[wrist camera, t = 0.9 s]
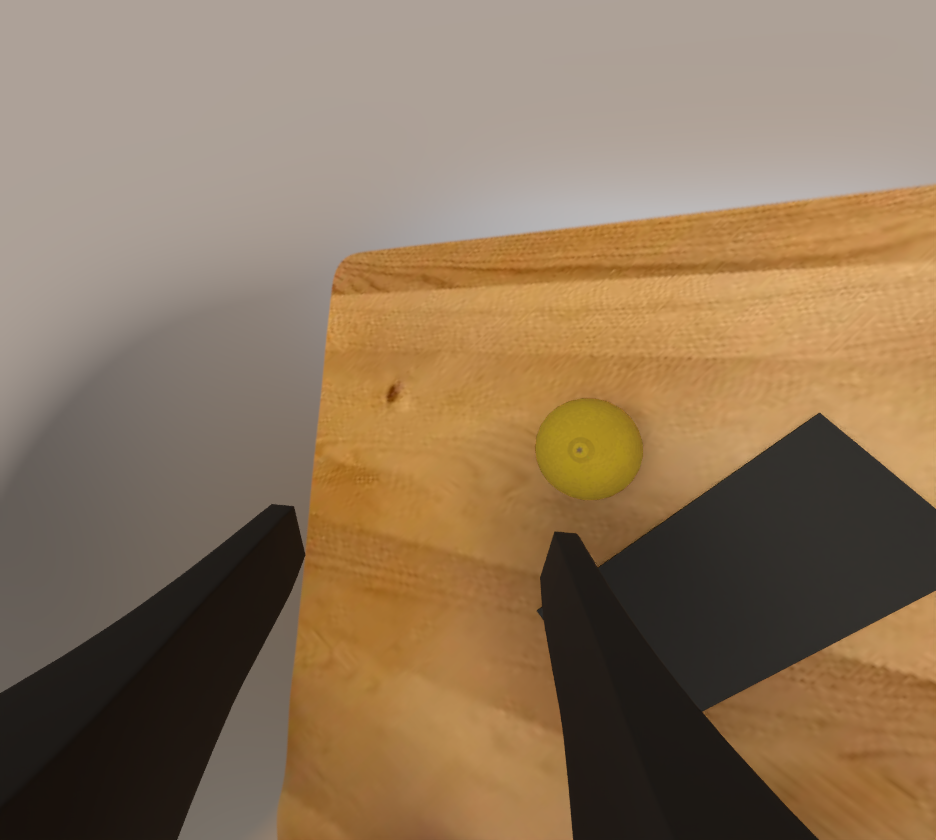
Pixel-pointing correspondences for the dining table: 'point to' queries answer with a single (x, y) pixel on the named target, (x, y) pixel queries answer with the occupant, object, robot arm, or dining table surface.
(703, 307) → the dining table surface
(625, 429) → the lemon
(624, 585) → the mat
